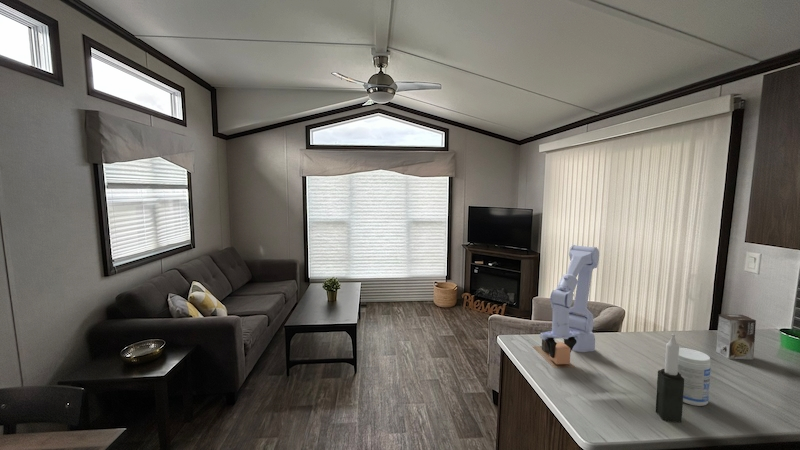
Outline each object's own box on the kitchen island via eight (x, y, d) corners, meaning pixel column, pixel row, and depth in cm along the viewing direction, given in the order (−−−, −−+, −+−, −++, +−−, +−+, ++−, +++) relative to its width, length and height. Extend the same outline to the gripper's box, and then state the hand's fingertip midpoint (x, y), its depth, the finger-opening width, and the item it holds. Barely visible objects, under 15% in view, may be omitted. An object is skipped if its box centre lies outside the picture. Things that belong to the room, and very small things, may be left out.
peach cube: (562, 357, 132) (562, 342, 132) (569, 363, 127) (570, 348, 126) (549, 357, 132) (549, 342, 131) (556, 364, 127) (557, 348, 126)
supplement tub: (712, 410, 102) (716, 363, 101) (672, 401, 107) (675, 356, 106) (702, 394, 111) (705, 350, 110) (666, 386, 115) (668, 344, 114)
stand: (550, 349, 144) (551, 335, 143) (575, 371, 126) (575, 355, 125) (532, 350, 143) (532, 336, 143) (554, 372, 125) (555, 356, 125)
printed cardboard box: (739, 352, 139) (742, 314, 138) (754, 360, 133) (757, 320, 132) (715, 351, 140) (717, 313, 139) (728, 359, 134) (731, 319, 133)
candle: (683, 423, 97) (689, 338, 95) (663, 420, 98) (668, 336, 96) (673, 412, 102) (678, 331, 100) (653, 410, 103) (658, 329, 101)
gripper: (547, 326, 124) (546, 362, 125) (585, 325, 125) (584, 360, 126) (538, 319, 131) (537, 353, 132) (574, 318, 132) (573, 352, 133)
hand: (559, 356), depth 129 cm, fingers closed on peach cube, 5 cm apart
